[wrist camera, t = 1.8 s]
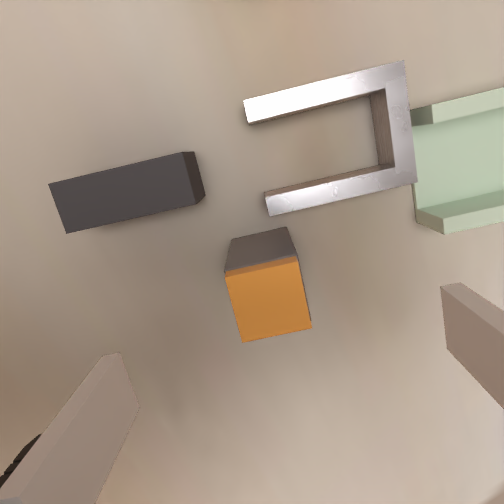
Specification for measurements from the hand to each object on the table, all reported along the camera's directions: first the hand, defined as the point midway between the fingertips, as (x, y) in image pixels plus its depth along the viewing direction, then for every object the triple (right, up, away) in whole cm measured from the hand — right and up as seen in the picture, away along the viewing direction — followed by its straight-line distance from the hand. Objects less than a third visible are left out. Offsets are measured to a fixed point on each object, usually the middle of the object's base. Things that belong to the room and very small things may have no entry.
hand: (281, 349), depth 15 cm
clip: (+3, +11, +10) cm, 15 cm away
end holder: (+14, +11, +10) cm, 20 cm away
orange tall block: (0, +3, +12) cm, 13 cm away
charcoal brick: (-9, +9, +11) cm, 16 cm away
